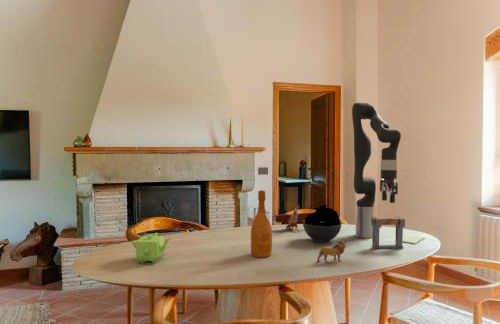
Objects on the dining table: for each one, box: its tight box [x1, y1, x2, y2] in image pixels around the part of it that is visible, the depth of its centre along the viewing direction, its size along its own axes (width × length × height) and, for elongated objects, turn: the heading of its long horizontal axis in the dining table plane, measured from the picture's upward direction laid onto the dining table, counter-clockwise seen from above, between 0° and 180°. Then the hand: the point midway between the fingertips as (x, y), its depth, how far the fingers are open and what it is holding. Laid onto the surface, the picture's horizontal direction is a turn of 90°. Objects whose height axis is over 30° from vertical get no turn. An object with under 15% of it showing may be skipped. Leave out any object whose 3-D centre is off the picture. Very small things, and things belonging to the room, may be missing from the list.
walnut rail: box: [372, 217, 404, 226], centre depth 184 cm, size 15×3×3 cm, turn 95°
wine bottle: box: [250, 189, 273, 258], centre depth 171 cm, size 10×10×30 cm
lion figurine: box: [316, 239, 346, 265], centre depth 162 cm, size 15×5×9 cm, turn 116°
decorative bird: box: [271, 203, 312, 233], centre depth 221 cm, size 28×18×15 cm, turn 111°
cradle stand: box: [371, 216, 406, 250], centre depth 184 cm, size 15×6×15 cm, turn 95°
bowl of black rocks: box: [302, 204, 342, 243], centre depth 197 cm, size 20×20×19 cm
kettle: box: [130, 232, 173, 264], centre depth 162 cm, size 15×14×11 cm
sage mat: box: [402, 234, 425, 245], centre depth 201 cm, size 17×8×1 cm, turn 140°
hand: (388, 201), depth 184 cm, fingers open, 8 cm apart
